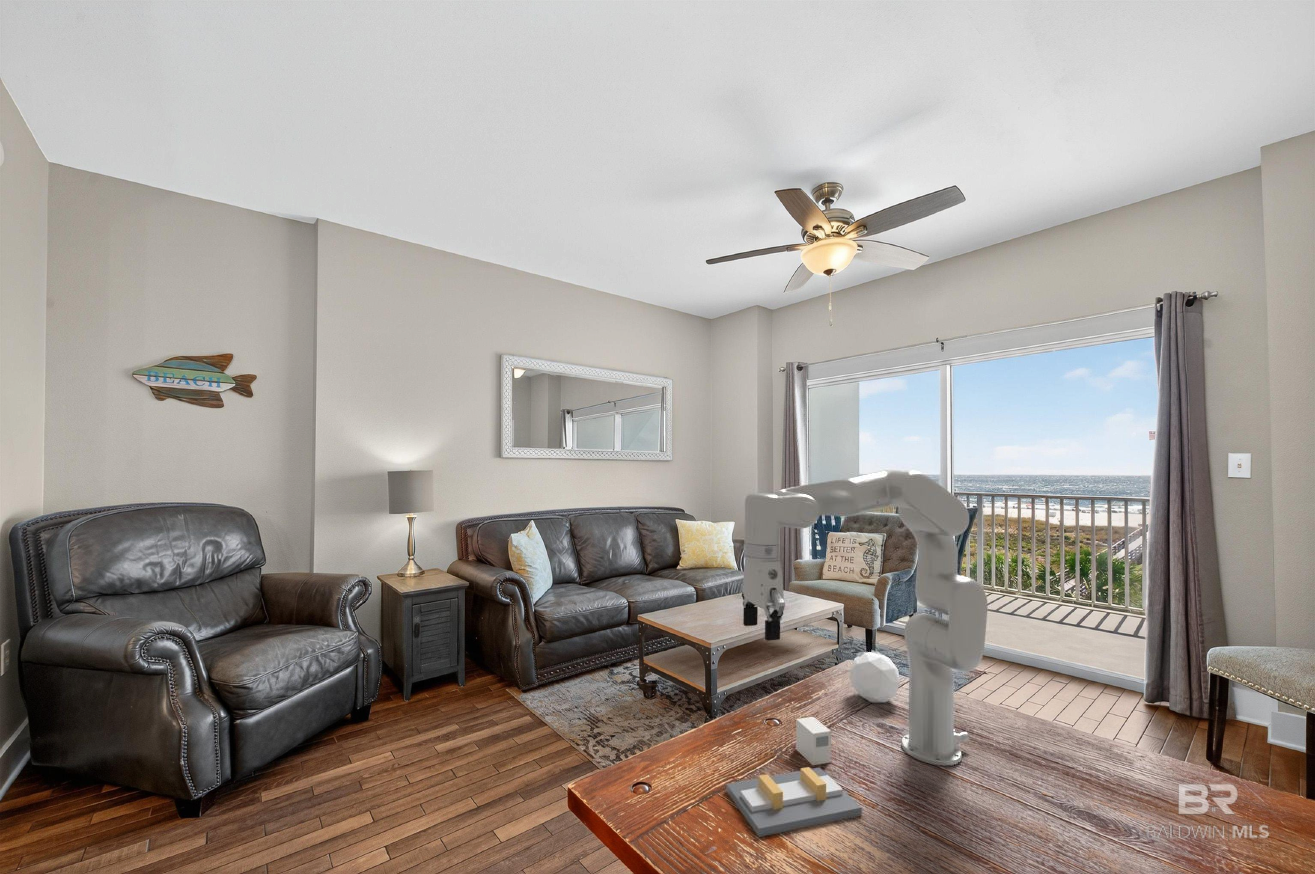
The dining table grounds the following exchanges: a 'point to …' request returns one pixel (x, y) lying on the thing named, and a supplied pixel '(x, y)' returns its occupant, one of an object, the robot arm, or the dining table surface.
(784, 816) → the rail board
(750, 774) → the dining table surface
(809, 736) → the block
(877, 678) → the geodesic sphere
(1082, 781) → the dining table surface
